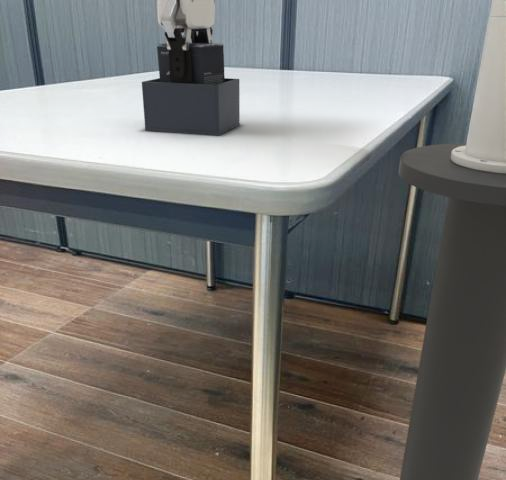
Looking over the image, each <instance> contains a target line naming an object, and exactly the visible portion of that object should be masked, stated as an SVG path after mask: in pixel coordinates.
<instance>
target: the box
mask: <svg viewBox="0 0 506 480" xmlns="http://www.w3.org/2000/svg"><path fill="white" fill-rule="evenodd" d="M156 51H157V60H158V64H157V65H158V72H159V78H160V82H165V83H172V82H171V81H170V71H169V52H168V49H167V42H166V43H160V44H157V46H156ZM188 51H192V67H193V82H192V83H190V84H213V85H217V84H221V83H224V82H225V78H226V77H225V54H224V52H225V51H224V44H223V43H213V42H212V43H192V42H190V45H189V50H188Z"/></svg>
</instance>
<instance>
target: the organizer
mask: <svg viewBox="0 0 506 480" xmlns="http://www.w3.org/2000/svg"><path fill="white" fill-rule="evenodd" d="M141 88H142V89H141V90H142V104H143V116H144V130H145V131H146V132H160V133H176V134H191V135H207V136H221V135H222V134H225V133H227V132H229V131H231V130H232V129H235V128H237V127H238V126H240V123H241V122H240V117H241V116H240V78H227V77H225V82H224V83H221V84H217V85H213V84H189V83H165V82H160V77H159V78H153V79H149V80H143V81H141Z"/></svg>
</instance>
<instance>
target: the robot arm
mask: <svg viewBox="0 0 506 480" xmlns="http://www.w3.org/2000/svg"><path fill="white" fill-rule="evenodd" d="M156 5H157V6H156V8H157V9H156V10H157V23H158V25H159V26H160V27H161V28H162V29H164V36H165V38H166V43H167V49H168V52H169V71H170V81H171V82H172V83H189V84H190V83H192V82H193V67H192V51H188V50H189V45H190V43H212V44H213V39H212V35H214V32H213V26H214V23H215V19H216V0H156ZM485 31H486V32H485V37H484V42H483V47H482V54H481V58H480V59H481V60H480V64H479V70H478V77H477V82H476V87H475V93H474V99H473V104H472V109H471V116H470V120H469V127H468V132H467V136H466V137H467V139H466V142H465V143H466V146H460V147H457V148H455V149H453V150H452V152H451V160H452V162H454V163H455V164H457V165H460V166H462V167H466V168H469V169H473V170H478V171H484V172H490V173H498V174H506V0H491V5H490V11H489V15H488V19H487V27H486V30H485ZM182 33H183V35H182Z"/></svg>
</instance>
